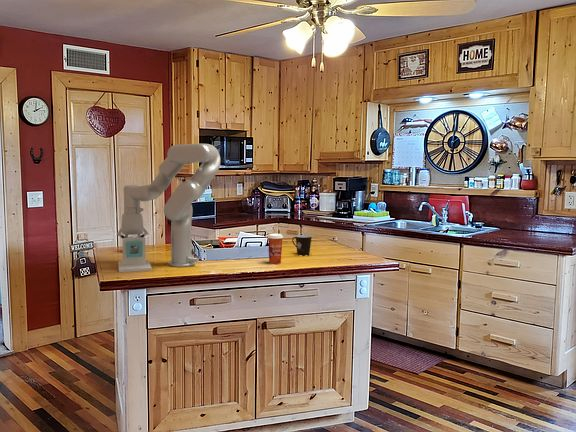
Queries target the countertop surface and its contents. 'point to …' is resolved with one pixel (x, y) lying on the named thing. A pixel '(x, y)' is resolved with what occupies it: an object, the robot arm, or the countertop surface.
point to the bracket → (134, 258)
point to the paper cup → (275, 248)
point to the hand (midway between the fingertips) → (132, 248)
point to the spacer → (134, 243)
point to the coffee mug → (303, 244)
